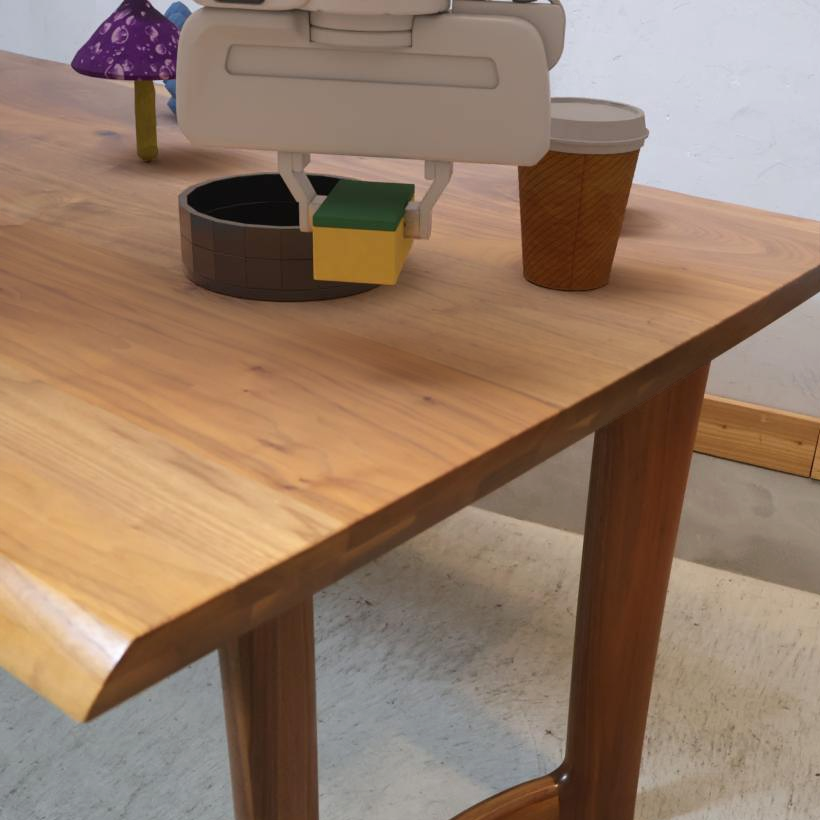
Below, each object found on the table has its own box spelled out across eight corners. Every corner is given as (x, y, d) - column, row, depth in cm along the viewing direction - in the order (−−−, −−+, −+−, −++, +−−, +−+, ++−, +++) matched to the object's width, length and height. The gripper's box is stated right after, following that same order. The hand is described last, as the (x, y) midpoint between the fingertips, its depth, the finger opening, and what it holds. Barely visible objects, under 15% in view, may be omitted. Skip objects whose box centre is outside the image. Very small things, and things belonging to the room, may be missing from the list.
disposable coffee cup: (530, 249, 90) (542, 90, 84) (648, 271, 86) (668, 106, 81) (479, 283, 82) (489, 110, 76) (606, 308, 78) (625, 129, 73)
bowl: (153, 292, 77) (147, 219, 75) (216, 229, 91) (213, 166, 89) (377, 309, 76) (378, 235, 74) (407, 243, 90) (409, 179, 87)
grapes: (148, 106, 133) (139, -5, 128) (207, 107, 134) (201, -3, 129) (141, 127, 123) (131, 7, 118) (205, 127, 124) (199, 9, 119)
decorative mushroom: (115, 183, 102) (98, 3, 95) (59, 155, 110) (40, -13, 104) (239, 167, 109) (232, -2, 102) (178, 141, 118) (167, -16, 111)
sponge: (313, 280, 63) (312, 215, 61) (340, 238, 70) (339, 179, 68) (395, 285, 62) (396, 220, 61) (413, 242, 70) (414, 183, 68)
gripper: (569, -25, 61) (549, 229, 67) (193, -43, 63) (207, 207, 69) (568, -14, 56) (547, 262, 62) (155, -35, 57) (175, 237, 63)
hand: (365, 233), depth 65 cm, fingers closed on sponge, 4 cm apart
